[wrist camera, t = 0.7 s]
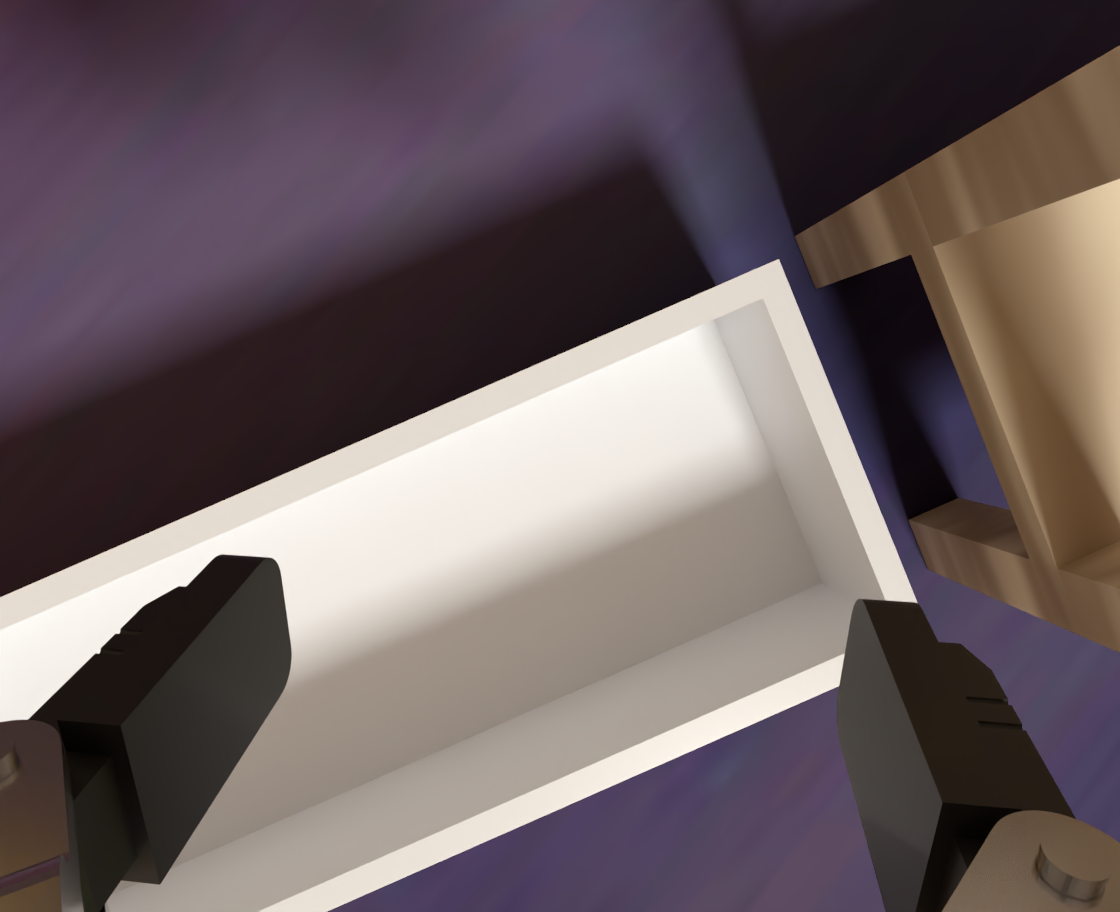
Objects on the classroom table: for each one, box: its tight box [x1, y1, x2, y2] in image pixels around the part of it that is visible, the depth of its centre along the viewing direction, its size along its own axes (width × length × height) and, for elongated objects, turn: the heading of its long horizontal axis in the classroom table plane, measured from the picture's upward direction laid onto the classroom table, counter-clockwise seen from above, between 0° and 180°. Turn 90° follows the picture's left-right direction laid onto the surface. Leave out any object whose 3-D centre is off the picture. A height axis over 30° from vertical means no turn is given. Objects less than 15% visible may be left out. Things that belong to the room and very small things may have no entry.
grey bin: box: [0, 259, 917, 912], centre depth 27 cm, size 32×12×7 cm, turn 113°
